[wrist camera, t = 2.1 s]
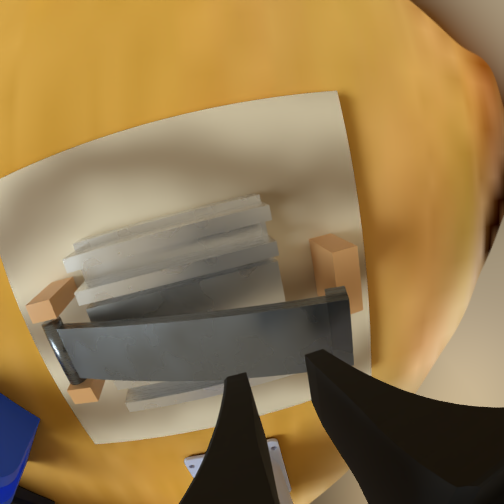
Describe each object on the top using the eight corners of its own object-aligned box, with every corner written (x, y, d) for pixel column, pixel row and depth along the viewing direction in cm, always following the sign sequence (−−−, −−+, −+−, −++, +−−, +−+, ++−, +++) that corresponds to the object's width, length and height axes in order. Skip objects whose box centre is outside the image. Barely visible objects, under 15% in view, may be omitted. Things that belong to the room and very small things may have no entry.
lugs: (340, 307, 20) (367, 332, 16) (89, 370, 18) (74, 404, 14) (327, 211, 18) (357, 221, 15) (51, 282, 16) (25, 305, 13)
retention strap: (350, 354, 13) (355, 375, 12) (79, 369, 16) (66, 384, 14) (344, 278, 12) (349, 295, 11) (53, 314, 15) (37, 327, 13)
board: (364, 369, 23) (371, 377, 22) (97, 434, 20) (95, 444, 19) (328, 94, 18) (336, 90, 16) (-7, 186, 15) (-17, 187, 14)
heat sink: (286, 350, 20) (301, 376, 17) (137, 386, 19) (132, 416, 16) (255, 193, 17) (267, 197, 14) (80, 239, 16) (60, 252, 13)
